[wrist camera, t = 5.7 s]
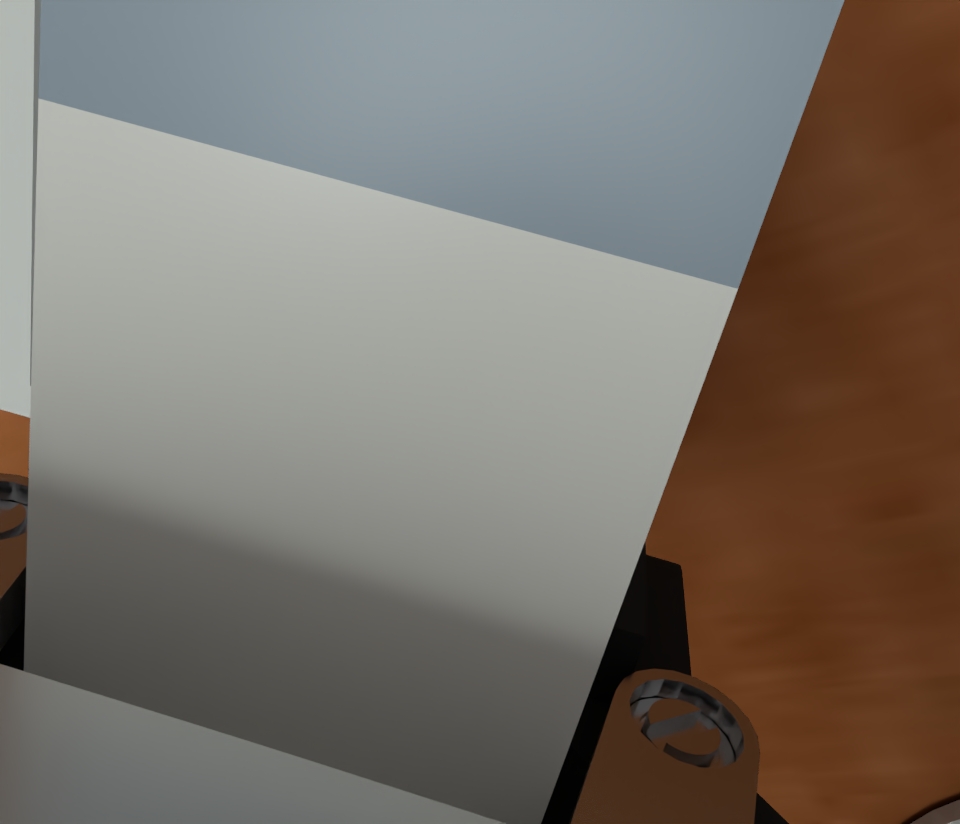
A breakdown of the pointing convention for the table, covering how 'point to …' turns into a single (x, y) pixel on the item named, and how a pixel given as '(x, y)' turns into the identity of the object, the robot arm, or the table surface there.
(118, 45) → the butter block
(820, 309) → the table surface
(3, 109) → the tray
